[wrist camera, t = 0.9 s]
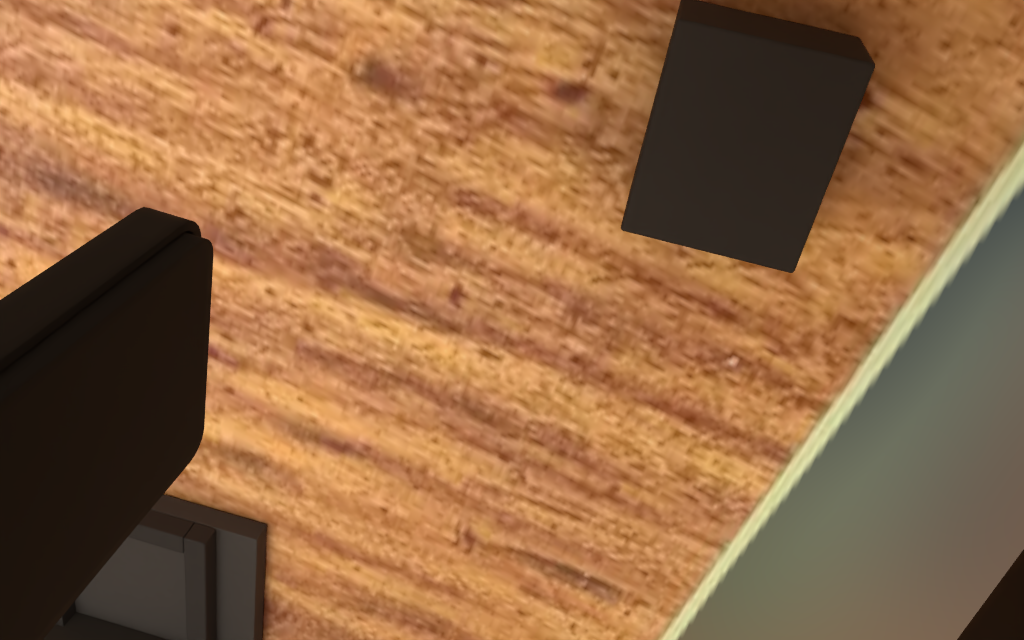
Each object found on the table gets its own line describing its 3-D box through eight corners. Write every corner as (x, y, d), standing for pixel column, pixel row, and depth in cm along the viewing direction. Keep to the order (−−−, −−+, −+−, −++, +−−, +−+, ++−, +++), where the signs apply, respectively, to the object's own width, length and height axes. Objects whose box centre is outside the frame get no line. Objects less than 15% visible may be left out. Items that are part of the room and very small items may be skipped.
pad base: (16, 450, 40) (-51, 510, 36) (267, 524, 39) (223, 592, 35) (51, 673, 48) (0, 739, 45) (258, 738, 47) (222, 810, 44)
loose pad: (681, -4, 25) (677, 18, 22) (861, 37, 24) (877, 64, 22) (629, 192, 28) (619, 231, 25) (787, 231, 27) (793, 275, 25)
